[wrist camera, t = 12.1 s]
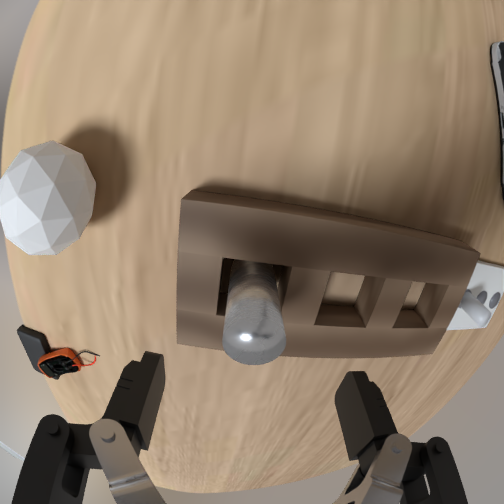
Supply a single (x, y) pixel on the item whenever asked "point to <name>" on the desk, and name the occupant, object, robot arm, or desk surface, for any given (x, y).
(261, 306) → the steel pin
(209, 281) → the pin board
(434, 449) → the robot arm
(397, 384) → the desk surface
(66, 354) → the multimeter
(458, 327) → the white plate with peg
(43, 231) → the geometric ball
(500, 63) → the gaming console
